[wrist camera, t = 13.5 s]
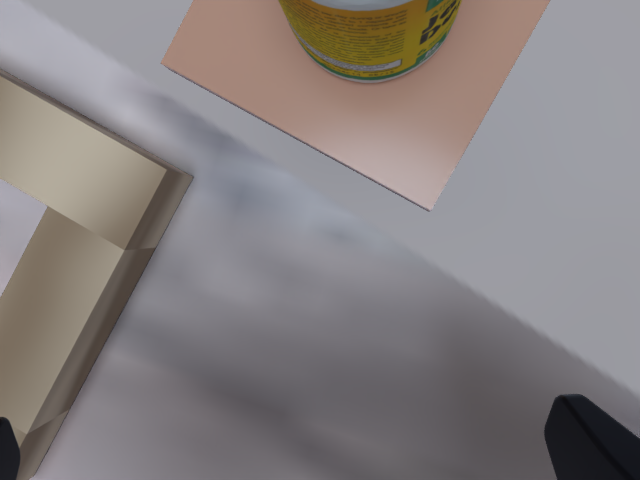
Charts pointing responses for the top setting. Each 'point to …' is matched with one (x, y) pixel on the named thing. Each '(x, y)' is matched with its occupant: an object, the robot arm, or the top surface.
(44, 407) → the socket block
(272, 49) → the terracotta tile
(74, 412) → the top surface
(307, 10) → the supplement bottle
